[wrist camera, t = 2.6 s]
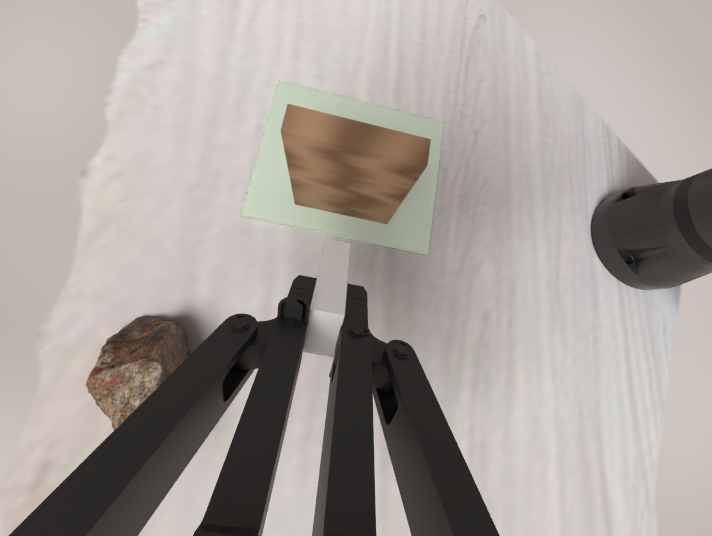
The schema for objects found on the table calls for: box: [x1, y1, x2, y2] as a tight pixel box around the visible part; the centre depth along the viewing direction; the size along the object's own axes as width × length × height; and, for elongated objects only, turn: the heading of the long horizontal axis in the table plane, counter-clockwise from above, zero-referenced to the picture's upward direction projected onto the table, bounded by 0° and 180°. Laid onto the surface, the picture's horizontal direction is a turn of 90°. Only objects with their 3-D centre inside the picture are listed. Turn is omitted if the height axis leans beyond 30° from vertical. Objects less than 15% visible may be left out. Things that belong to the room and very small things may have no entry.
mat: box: [241, 81, 444, 255], centre depth 38 cm, size 24×20×1 cm
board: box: [281, 104, 431, 224], centre depth 29 cm, size 12×2×14 cm, turn 80°
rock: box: [86, 317, 190, 430], centre depth 27 cm, size 14×9×10 cm
